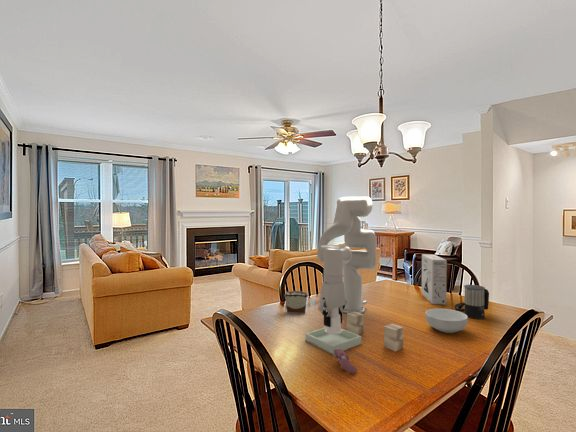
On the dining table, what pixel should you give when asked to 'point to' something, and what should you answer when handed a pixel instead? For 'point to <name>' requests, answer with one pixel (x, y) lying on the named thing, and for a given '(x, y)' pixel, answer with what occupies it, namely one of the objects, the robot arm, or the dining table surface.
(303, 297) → the food container
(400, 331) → the maple block
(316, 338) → the tray
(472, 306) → the milk frother
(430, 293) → the cereal box
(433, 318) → the cereal bowl
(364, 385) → the dining table surface
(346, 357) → the video game controller
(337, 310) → the downlight
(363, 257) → the robot arm
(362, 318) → the maple block
